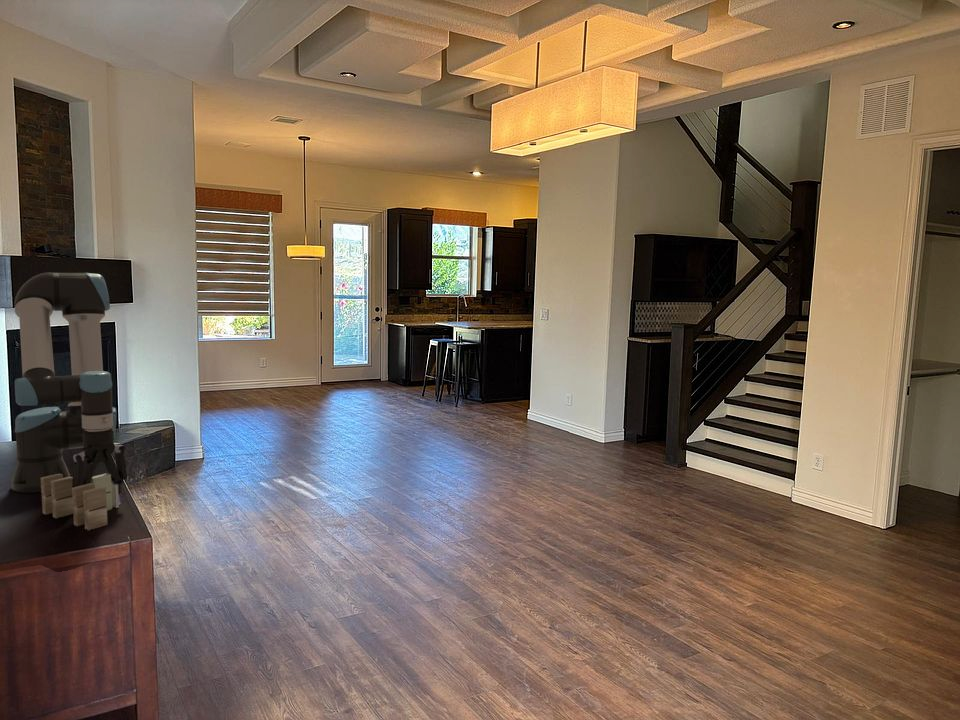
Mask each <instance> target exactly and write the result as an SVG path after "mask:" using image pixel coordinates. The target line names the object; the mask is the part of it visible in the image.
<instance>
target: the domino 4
mask: <svg viewBox="0 0 960 720" xmlns="http://www.w3.org/2000/svg"><path fill="white" fill-rule="evenodd" d="M91 483H92V484H95V488H98V487H105V488H106V503H107V511H110V510H113V507H112V490H111V483H112V479H111V474H109V473H108V472H107V473H102V474H98V475H93V476H92V480H91Z"/></svg>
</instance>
